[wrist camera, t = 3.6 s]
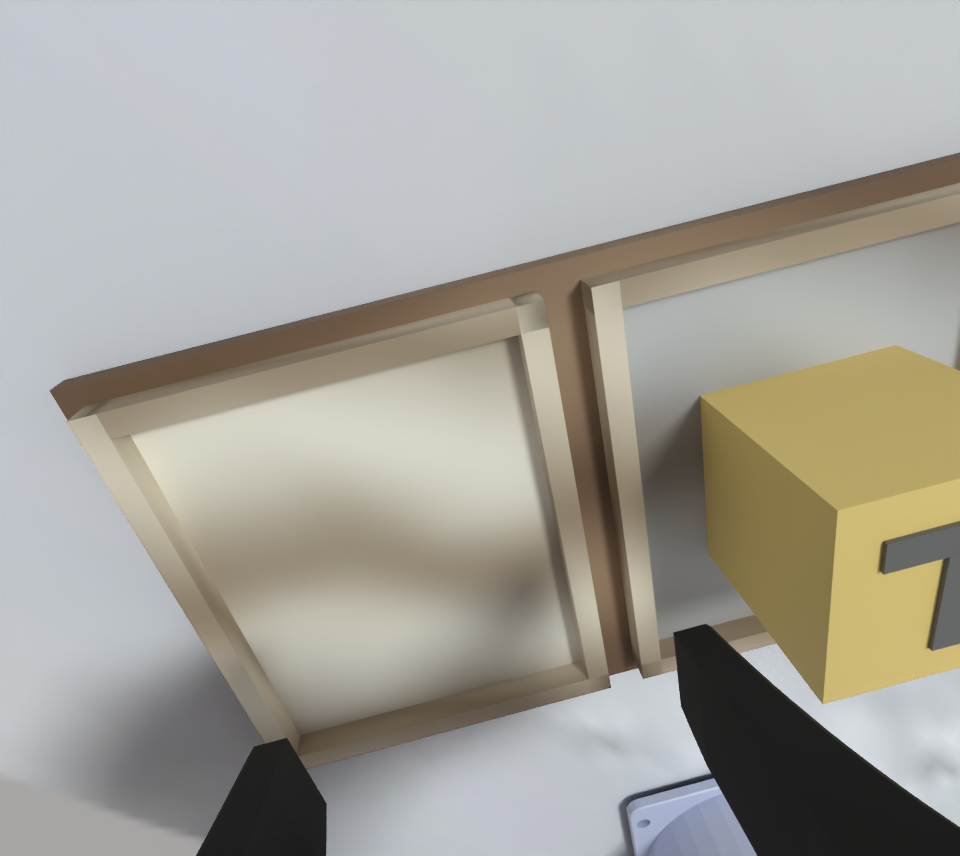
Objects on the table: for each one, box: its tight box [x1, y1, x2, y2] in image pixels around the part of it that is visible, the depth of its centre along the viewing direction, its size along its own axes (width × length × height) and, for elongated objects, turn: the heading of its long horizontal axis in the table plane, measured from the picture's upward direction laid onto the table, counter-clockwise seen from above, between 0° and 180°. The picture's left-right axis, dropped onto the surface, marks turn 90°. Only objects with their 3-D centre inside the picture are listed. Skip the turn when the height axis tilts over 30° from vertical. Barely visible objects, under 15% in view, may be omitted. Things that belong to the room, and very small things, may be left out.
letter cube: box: [700, 345, 960, 704], centre depth 13 cm, size 5×5×5 cm
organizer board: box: [50, 153, 960, 769], centre depth 15 cm, size 13×31×1 cm, turn 103°
